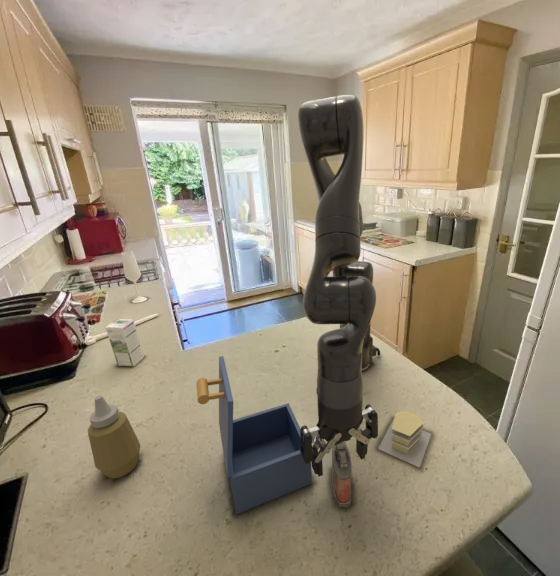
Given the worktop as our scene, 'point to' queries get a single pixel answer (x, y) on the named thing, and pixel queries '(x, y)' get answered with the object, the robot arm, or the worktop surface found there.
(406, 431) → the stacked layers on plate
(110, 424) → the squeeze bottle
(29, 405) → the worktop surface
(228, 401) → the blue box lid
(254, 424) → the box
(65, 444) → the worktop surface
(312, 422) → the worktop surface
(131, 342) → the syrup box
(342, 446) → the lighter
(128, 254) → the champagne flute
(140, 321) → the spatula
